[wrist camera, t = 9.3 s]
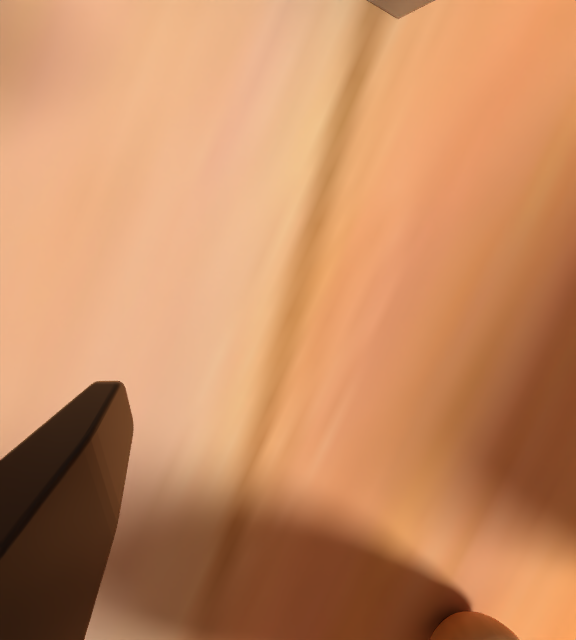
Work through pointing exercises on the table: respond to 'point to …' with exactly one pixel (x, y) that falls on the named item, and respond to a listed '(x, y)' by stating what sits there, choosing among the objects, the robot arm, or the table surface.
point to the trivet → (400, 6)
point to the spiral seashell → (472, 628)
